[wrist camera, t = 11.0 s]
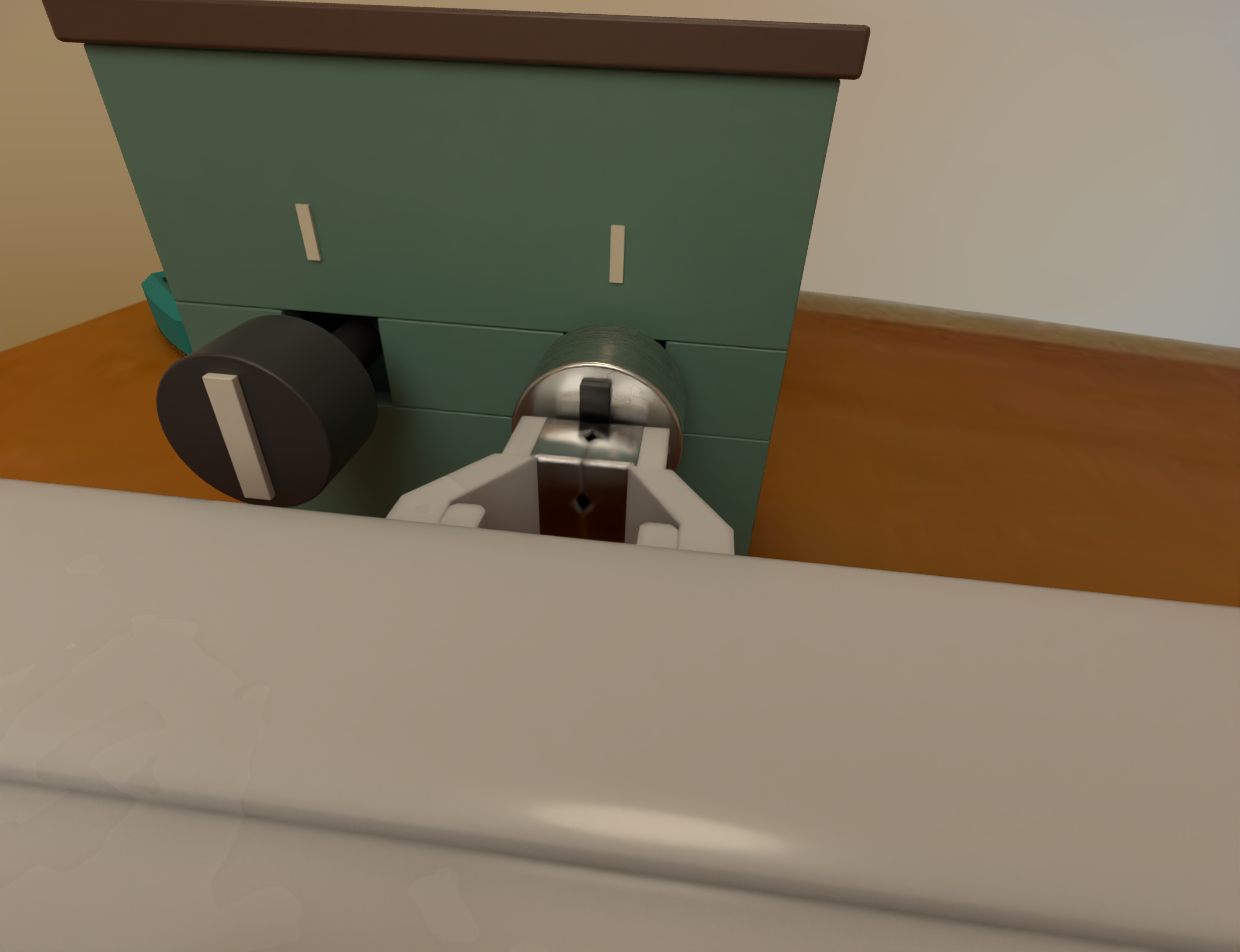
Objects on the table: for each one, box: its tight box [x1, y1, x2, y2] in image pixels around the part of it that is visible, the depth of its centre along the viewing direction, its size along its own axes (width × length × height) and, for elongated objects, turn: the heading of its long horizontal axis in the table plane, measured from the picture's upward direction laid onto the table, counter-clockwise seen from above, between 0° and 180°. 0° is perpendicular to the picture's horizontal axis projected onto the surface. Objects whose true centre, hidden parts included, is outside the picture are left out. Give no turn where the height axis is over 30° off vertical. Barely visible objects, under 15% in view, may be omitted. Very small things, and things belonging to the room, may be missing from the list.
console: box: [42, 0, 870, 556], centre depth 18 cm, size 6×16×14 cm, turn 83°
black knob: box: [156, 315, 383, 508], centre depth 15 cm, size 6×4×4 cm, turn 173°
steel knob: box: [511, 324, 686, 472], centre depth 15 cm, size 6×4×4 cm, turn 173°
